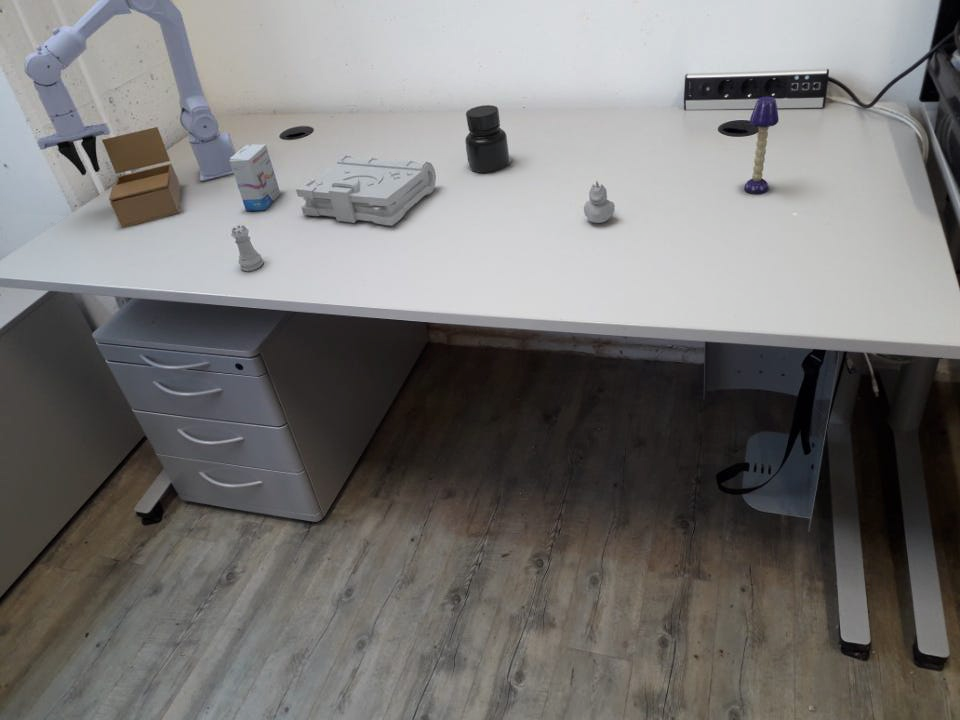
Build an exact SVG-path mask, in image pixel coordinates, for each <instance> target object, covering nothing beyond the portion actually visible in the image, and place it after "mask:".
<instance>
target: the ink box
mask: <svg viewBox="0 0 960 720" xmlns="http://www.w3.org/2000/svg"><path fill="white" fill-rule="evenodd" d="M230 159H231V160H230V164H231V167H232V170H233V176H234V180H235V182H236V185H237V189H238V192H239V194H240V197H241V200H242V204H243V205H244V209H245V211H246V212H253V211H254V212H255V211H266V210H267V209H268V208H269V207H270V206H271V205H272V204H273V203H274V201H276V199H278V197H279V196H280V195H281V190H280V187H279V184H278V180H277V177H276V173H275V170H274V167H273V164H272V160H271V157H270V154H269V150H268V146H267V144H245V145H243V147H241V149H239V150H238V151H237V152H236V154H234V155H233V156H232V157H231V158H230Z"/></svg>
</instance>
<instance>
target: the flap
mask: <svg viewBox="0 0 960 720" xmlns="http://www.w3.org/2000/svg"><path fill="white" fill-rule="evenodd" d="M101 141H102V143H103V146H104V148H105V151H106V153H107V156H108V158H109V161H110V163H111V166H112V168H113V170H114V173H115V175H119V174H122V173H126V172H131V171H133V170H139V169H142V168H146V167H151V166H154V165H159V164H164V163H167V162H170V161H171V159H170V156H169V154H168V151H167V148H166V145H165V143H164V140H163V137H162V134H161V132H160V130H159V128H158V126H155V127H151V128H150V127H149V128H147V129H142V130H137V131H134V132H129V133H125V134H119V135H116V136H111V137H108V138H104V139H102V140H101Z"/></svg>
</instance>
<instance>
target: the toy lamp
mask: <svg viewBox="0 0 960 720" xmlns="http://www.w3.org/2000/svg"><path fill="white" fill-rule="evenodd" d="M779 120H780V119H779V112H778V105H777V100H776V98H775V97H772V96H762V97H759V98H758V99H757V100H756V102H755V105H754V107H753V110H752V113H751V115H750V119H749V123H750V124H751V125H752V126H754V127H757V129H758V131H757V135H756V136H757V140H756V148H755V151H754V152H755V153H754V155H755V157H754V161H753V162H754V164H753V168H752V170H753V173H752V178H750V179H749V180H747V181H746V182H745V184H744V187H743V190H744V191H745V192H746V193H748V194H752V195H761V194H765V193H767V192H768V191H769V189H770V187H769V184H768V181H767V180H766V179H764V178H763V171H764V163H765V160H766V157H765V155H766V153H767V149H766V147H767V145H768V142H767V139H768V137H769V132H768V131H769V129H770V128H771V127H774V126H776V125H777V124H778V123H779Z"/></svg>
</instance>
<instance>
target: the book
mask: <svg viewBox="0 0 960 720" xmlns="http://www.w3.org/2000/svg"><path fill="white" fill-rule="evenodd" d="M436 181H437V174H436V169H435V167H434V165H433V164H432V162H429V161H421V162H415V161H412V160H406V159H405V160H403V159H394V160H386V159H385V160H384V159H378V158H374V157H365V156H356V157H352V156H350V155H346V154H345V155H341V156H340V157H338V160H337V161H336V163H334V164H333V165H332V166H330V167H329V168H327V169H326V170H324V171H322V172H321V173H320V174H318V175H317V176H315V177H314V178H311V179H309V180H307V181H305V182H304V183H302V184H300V185H299V186H298V187H296V188H295V192H296V194H297V195H296V196H297V197H298V198H302V199H303V200H304V201H305V203H304V204H303V205H302V206H301V207H300V208H301V211H302V214H303V215H305V216H312V217H320V216H326V217H335V219H336V221H338V222H343V223H344V222H345V223H352V224H355V223H356V222H358V221H367V222H372V223H374V224H378V225H382V226H383V225H384V226H391V227H392V226H394V225H396V224H397V223H398V222H399V221H400V220H401V219H402V218H403V217H404V216H405V215H406V213H407V211H409V210H410V209H411V208H412V207H414V206H415V205H416V204H417V203H418V202H419V201H420V200H422V198H423V197H425V196H429V195H430V194H432V193H433V192H434V190H435V187H436Z"/></svg>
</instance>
